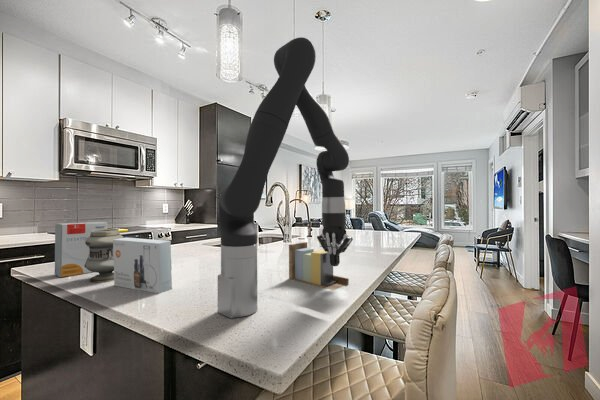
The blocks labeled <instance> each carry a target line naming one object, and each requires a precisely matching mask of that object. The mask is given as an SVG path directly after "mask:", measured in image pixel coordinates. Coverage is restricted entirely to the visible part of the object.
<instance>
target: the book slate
mask: <svg viewBox="0 0 600 400" xmlns="http://www.w3.org/2000/svg"><path fill="white" fill-rule="evenodd" d="M311 252H315V250H314V248H309V247H307V248H302V249H296V250H295V279H299V280H303V254H306V253H311Z"/></svg>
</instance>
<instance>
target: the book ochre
mask: <svg viewBox="0 0 600 400" xmlns="http://www.w3.org/2000/svg"><path fill="white" fill-rule="evenodd" d="M322 253H327V251H326V252H325V251H324V249H322V250H321V249H320V250H314V252H311V283H315V284H319V285H321V254H322Z"/></svg>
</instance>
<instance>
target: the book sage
mask: <svg viewBox="0 0 600 400" xmlns="http://www.w3.org/2000/svg"><path fill="white" fill-rule="evenodd" d="M303 281H307V282H311V253H306V254H303Z"/></svg>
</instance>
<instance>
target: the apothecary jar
mask: <svg viewBox="0 0 600 400" xmlns="http://www.w3.org/2000/svg"><path fill="white" fill-rule="evenodd" d="M120 238H125V237H124V236H123V235H122V234H120V230H119V229H118V228H107V229H101V230H93V231H91V234H90V237H88V238H87V239H86V241H85V244H86V245H87V246H89V252H90V257H89V260H88V261H87V262H86V264H85V266H86V268H87V269H88V270H89V271H92V272H91V273H97V274H96V275H94V276H92V277H90V278H89V280H88V281H89V282H91V283H92V282H94V283H107V282H112V281H114V255H113V240H114V239H120Z"/></svg>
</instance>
